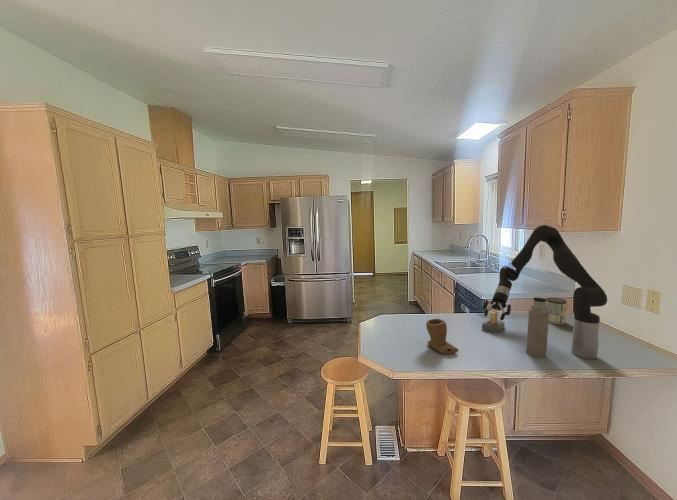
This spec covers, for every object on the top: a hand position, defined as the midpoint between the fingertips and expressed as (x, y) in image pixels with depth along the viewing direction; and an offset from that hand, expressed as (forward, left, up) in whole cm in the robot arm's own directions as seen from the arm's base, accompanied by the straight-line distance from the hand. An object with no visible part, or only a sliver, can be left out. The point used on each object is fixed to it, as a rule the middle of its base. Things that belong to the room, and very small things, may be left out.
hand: (493, 317), depth 169 cm
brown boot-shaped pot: (-30, +33, -8) cm, 46 cm away
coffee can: (+23, -42, -8) cm, 48 cm away
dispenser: (+1, 0, -8) cm, 8 cm away
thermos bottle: (-27, -12, -8) cm, 31 cm away
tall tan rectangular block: (+1, 0, -7) cm, 7 cm away
